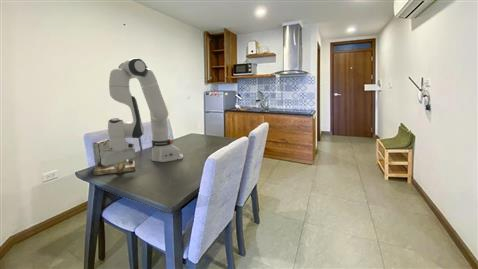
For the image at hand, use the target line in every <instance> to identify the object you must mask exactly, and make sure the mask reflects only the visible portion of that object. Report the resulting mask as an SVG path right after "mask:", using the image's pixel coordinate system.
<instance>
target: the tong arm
mask: <svg viewBox="0 0 478 269" xmlns="http://www.w3.org/2000/svg"><path fill="white" fill-rule="evenodd" d="M121 162H123V161H121ZM128 163H129V161H128V160H127V162H126V164H128ZM111 165H112V164H111ZM116 165H117V163H116ZM102 166H103V165H102V164H101V162H100V163H98V167H102ZM108 166H110V165H108Z"/></svg>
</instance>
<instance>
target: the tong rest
mask: <svg viewBox="0 0 478 269" xmlns="http://www.w3.org/2000/svg"><path fill="white" fill-rule="evenodd" d="M116 166H117V165H116ZM135 170H136V163H135V160H133V163H128V164H126V165H125V168H123V173H124V172H132V171H133V172H134V171H135ZM115 173H116V174H118V173H117V170H115V169H114V167H113V165H110V166H102V167H98V164H97V165H96V167H95V168H94V169H93V175H94V176H98V175H107V174H108V175H109V174H115Z"/></svg>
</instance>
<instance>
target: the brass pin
mask: <svg viewBox="0 0 478 269" xmlns="http://www.w3.org/2000/svg"><path fill="white" fill-rule="evenodd" d="M117 167H118V170H117V173H116V174H117V175H120V176H121V175H124V172H123V162H118V163H117Z"/></svg>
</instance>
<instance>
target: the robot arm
mask: <svg viewBox="0 0 478 269" xmlns="http://www.w3.org/2000/svg"><path fill="white" fill-rule="evenodd" d="M108 78H109V81H108V85H109V86H108V89H109V96H110V97H111V98H112V99H113V101H116V102H118V103H119V104H123V105H124V106H125V105H126V106H128V108H129V109H130V112H131V116H132V121H130V122H129V121H126V122H125V121H124V120H123V118H120V117H114V118H111V119H109V120H108V122H107V136H108V139H109V147H110V148H109V149H104V150H103V151H104V152H103V151H102V152H101V164H102V165H103V166H108V165H111V164H112V165H113V167H114V169H115V170H118V167H117V166H116V163H118V162H121V161H123V168H125V165H126V162H127V160H128V159H132V158H133V159H134V158H135V157H136V154H137V153H136V149H135V143H132V142H128V141H127V140H126V139H130V138H132V139H140V138H141V137H142V136H143V135H144V132H145V129H144V125H143V123H142V122H143V121H142V118H141V114H140V110H139V109H140V108H139V106H138V101H137V98H136V97H135V96H134V95H133V94H132V93H131V89H130V80H131V79H137V80H138V82H139V84H140V88H141V90H142V93H143V96H144V98H145V102H146V104H147V107H148V109H149V116H150V125H151V126H150V127H151V148H152V150H151V151H152V153H151V158H150V160H151V161H152V162H153V161H154V162H160V163H165V162H167V163H168V162H172V161H177V159H178V160H183V158H184V155H183V153H180V152H181V150H180V149H179V148H178V147H177V146H175V145H174V144H173V142H174V141H173V140H172V139H170V138H169V128H168V127H169V126H168V116H169V111H168V107H167V105H166V103H165V100H164V97H163V95H162V92H161V88H160V85H159V83H158V81H157V78H156V76H155V73H154V72H153V70H152V69H151V68H148V66H147V64H146V63H145V61H143V59H140V58H138V57H137V58H135V57H134V58H132V59H128V60H126V61H124V62H122V63H121V64H119V66H118V67H117V68H114V69H112V70H111V71H110V73H109V77H108Z"/></svg>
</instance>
